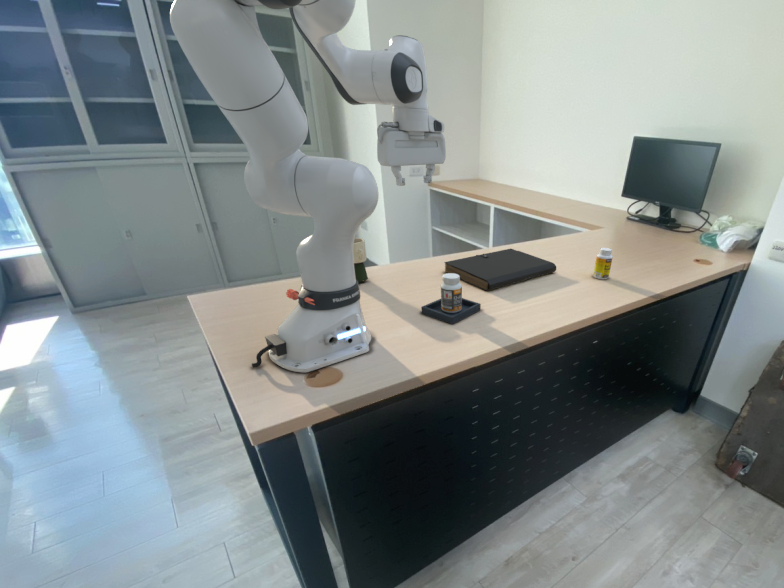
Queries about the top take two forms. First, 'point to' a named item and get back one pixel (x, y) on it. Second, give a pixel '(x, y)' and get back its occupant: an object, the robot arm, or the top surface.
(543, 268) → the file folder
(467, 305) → the tray
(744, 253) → the top surface
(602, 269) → the supplement bottle
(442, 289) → the pill bottle
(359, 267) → the character mug
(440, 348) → the top surface
